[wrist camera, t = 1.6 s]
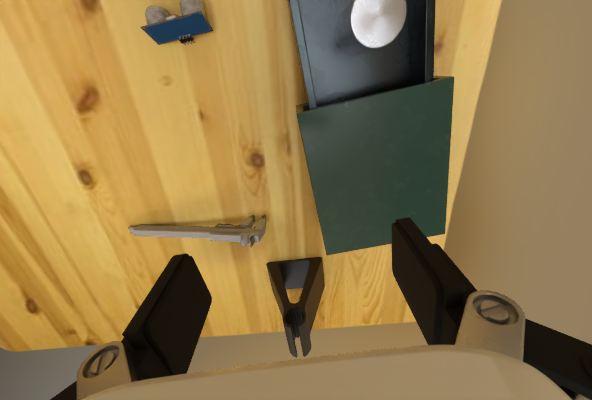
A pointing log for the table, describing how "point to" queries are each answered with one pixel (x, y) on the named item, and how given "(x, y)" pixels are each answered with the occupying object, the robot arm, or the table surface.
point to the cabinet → (379, 163)
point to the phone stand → (303, 312)
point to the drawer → (364, 66)
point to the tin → (369, 24)
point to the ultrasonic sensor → (176, 22)
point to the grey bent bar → (208, 231)
